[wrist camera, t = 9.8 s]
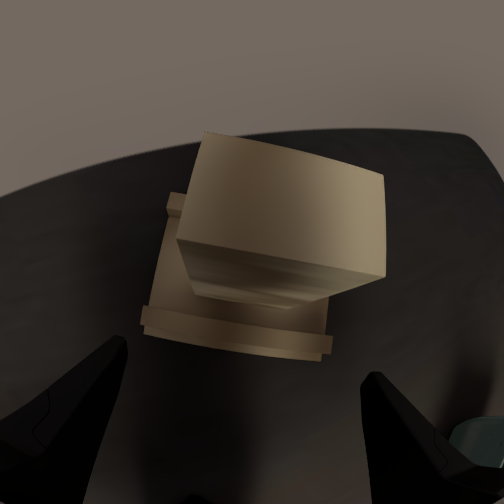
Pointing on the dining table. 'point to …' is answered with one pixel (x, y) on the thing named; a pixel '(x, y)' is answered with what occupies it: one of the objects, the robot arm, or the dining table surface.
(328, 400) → the dining table surface
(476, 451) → the flower pot
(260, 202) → the wooden block
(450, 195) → the dining table surface
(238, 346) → the wooden tray
